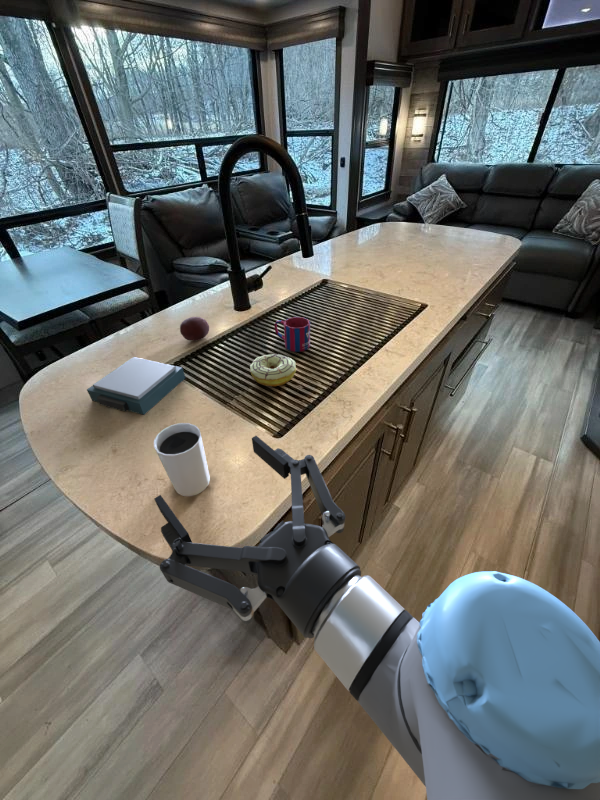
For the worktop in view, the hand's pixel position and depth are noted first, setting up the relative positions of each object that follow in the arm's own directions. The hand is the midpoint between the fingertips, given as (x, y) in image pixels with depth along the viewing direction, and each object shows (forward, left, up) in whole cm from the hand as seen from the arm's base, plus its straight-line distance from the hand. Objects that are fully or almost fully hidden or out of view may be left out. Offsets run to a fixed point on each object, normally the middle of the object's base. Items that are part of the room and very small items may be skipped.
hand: (211, 470), depth 42 cm
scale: (-9, +40, -11) cm, 43 cm away
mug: (+30, +44, -11) cm, 55 cm away
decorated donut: (+20, +32, -11) cm, 39 cm away
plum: (+7, +59, -11) cm, 61 cm away
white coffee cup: (-3, +9, -11) cm, 15 cm away
